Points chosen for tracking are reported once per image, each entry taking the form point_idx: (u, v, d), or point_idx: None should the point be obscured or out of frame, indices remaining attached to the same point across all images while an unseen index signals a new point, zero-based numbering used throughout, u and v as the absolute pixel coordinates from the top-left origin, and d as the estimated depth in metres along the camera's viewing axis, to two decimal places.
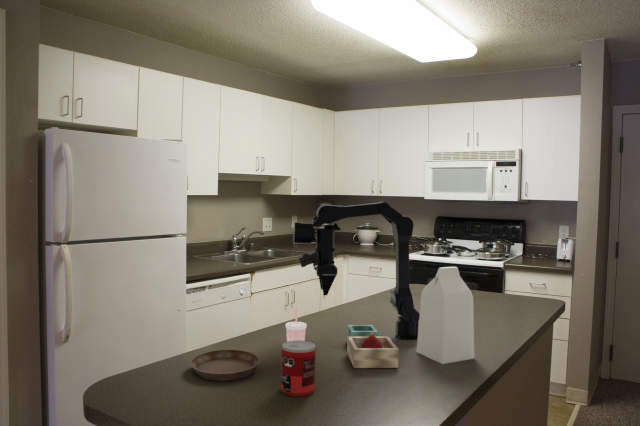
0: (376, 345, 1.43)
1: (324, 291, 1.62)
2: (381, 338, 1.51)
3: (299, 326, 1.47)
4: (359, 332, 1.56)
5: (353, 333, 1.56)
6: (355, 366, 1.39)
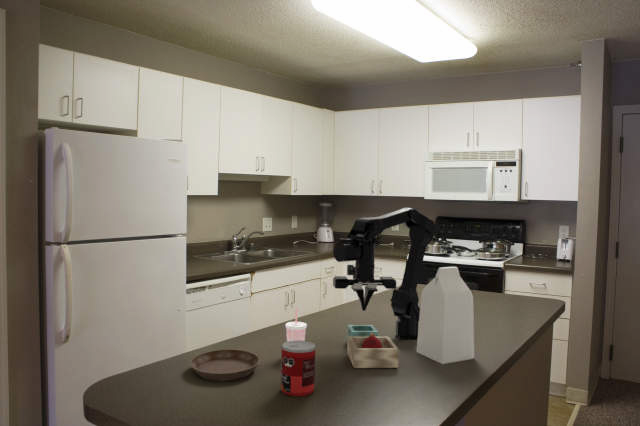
0: (376, 345, 1.43)
1: None
2: (381, 338, 1.51)
3: (299, 326, 1.47)
4: (359, 332, 1.56)
5: (353, 333, 1.56)
6: (355, 366, 1.39)
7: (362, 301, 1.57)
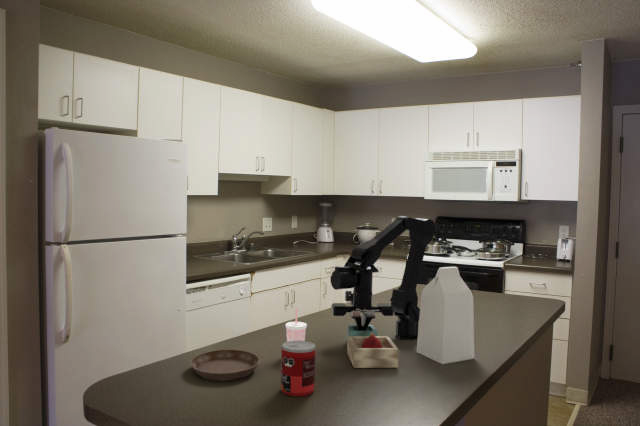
0: (376, 345, 1.43)
1: None
2: (381, 338, 1.51)
3: (299, 326, 1.47)
4: (359, 332, 1.56)
5: (353, 333, 1.56)
6: (355, 366, 1.39)
7: (360, 328, 1.60)
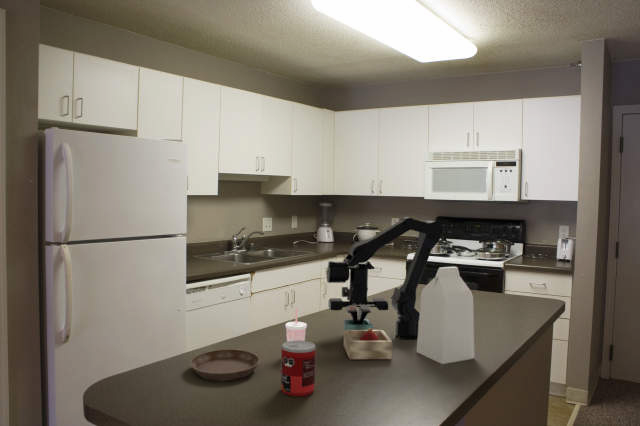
0: (372, 339, 1.48)
1: None
2: (376, 331, 1.58)
3: (299, 326, 1.47)
4: (355, 326, 1.63)
5: (349, 327, 1.63)
6: (351, 357, 1.46)
7: (356, 322, 1.66)
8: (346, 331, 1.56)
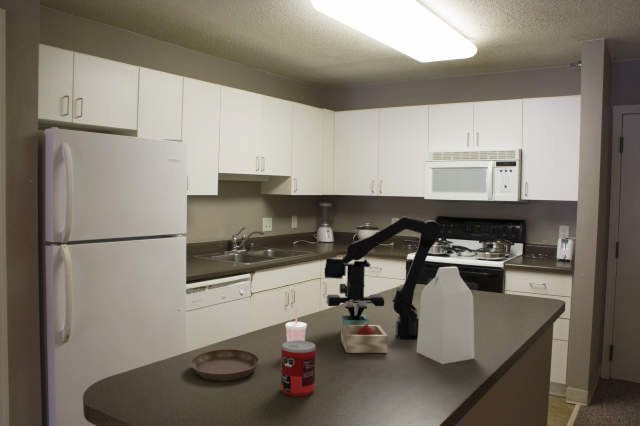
0: (368, 334, 1.54)
1: None
2: (372, 326, 1.63)
3: (299, 326, 1.47)
4: (352, 321, 1.69)
5: (346, 322, 1.69)
6: (347, 351, 1.52)
7: (353, 317, 1.72)
8: (343, 326, 1.62)
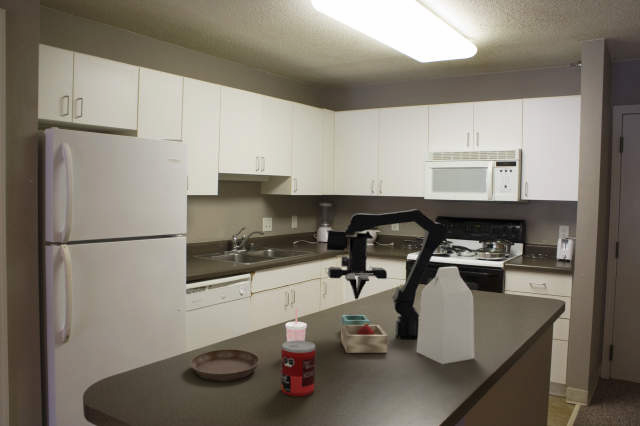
0: (368, 334, 1.54)
1: None
2: (372, 326, 1.63)
3: (299, 326, 1.47)
4: (352, 321, 1.69)
5: (346, 322, 1.69)
6: (347, 351, 1.52)
7: (355, 290, 1.70)
8: (343, 326, 1.62)
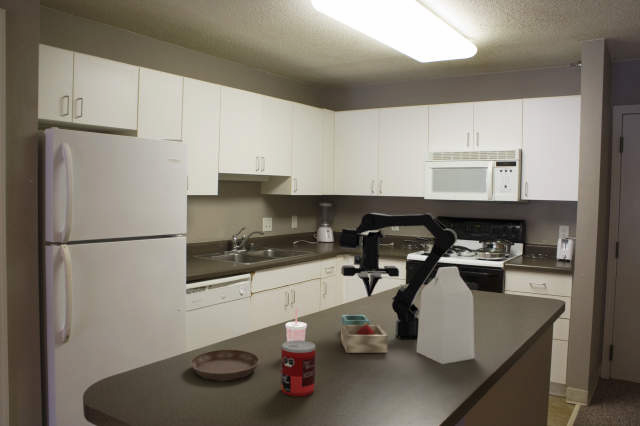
0: (368, 334, 1.54)
1: (367, 292, 1.76)
2: (372, 326, 1.63)
3: (299, 326, 1.47)
4: (352, 321, 1.69)
5: (346, 322, 1.69)
6: (347, 351, 1.52)
7: (368, 288, 1.73)
8: (343, 326, 1.62)
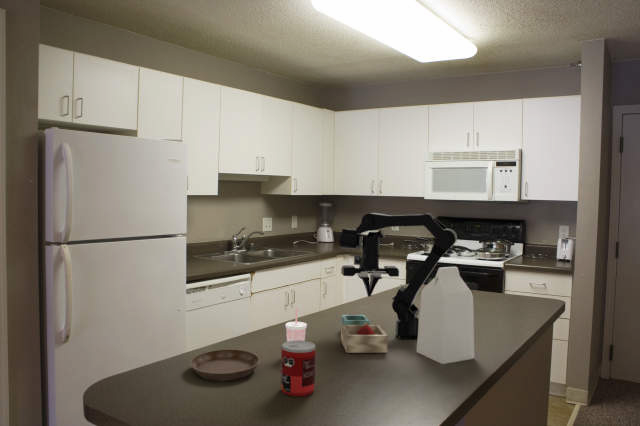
0: (368, 334, 1.54)
1: (367, 292, 1.76)
2: (372, 326, 1.63)
3: (299, 326, 1.47)
4: (352, 321, 1.69)
5: (346, 322, 1.69)
6: (347, 351, 1.52)
7: (368, 288, 1.73)
8: (343, 326, 1.62)
